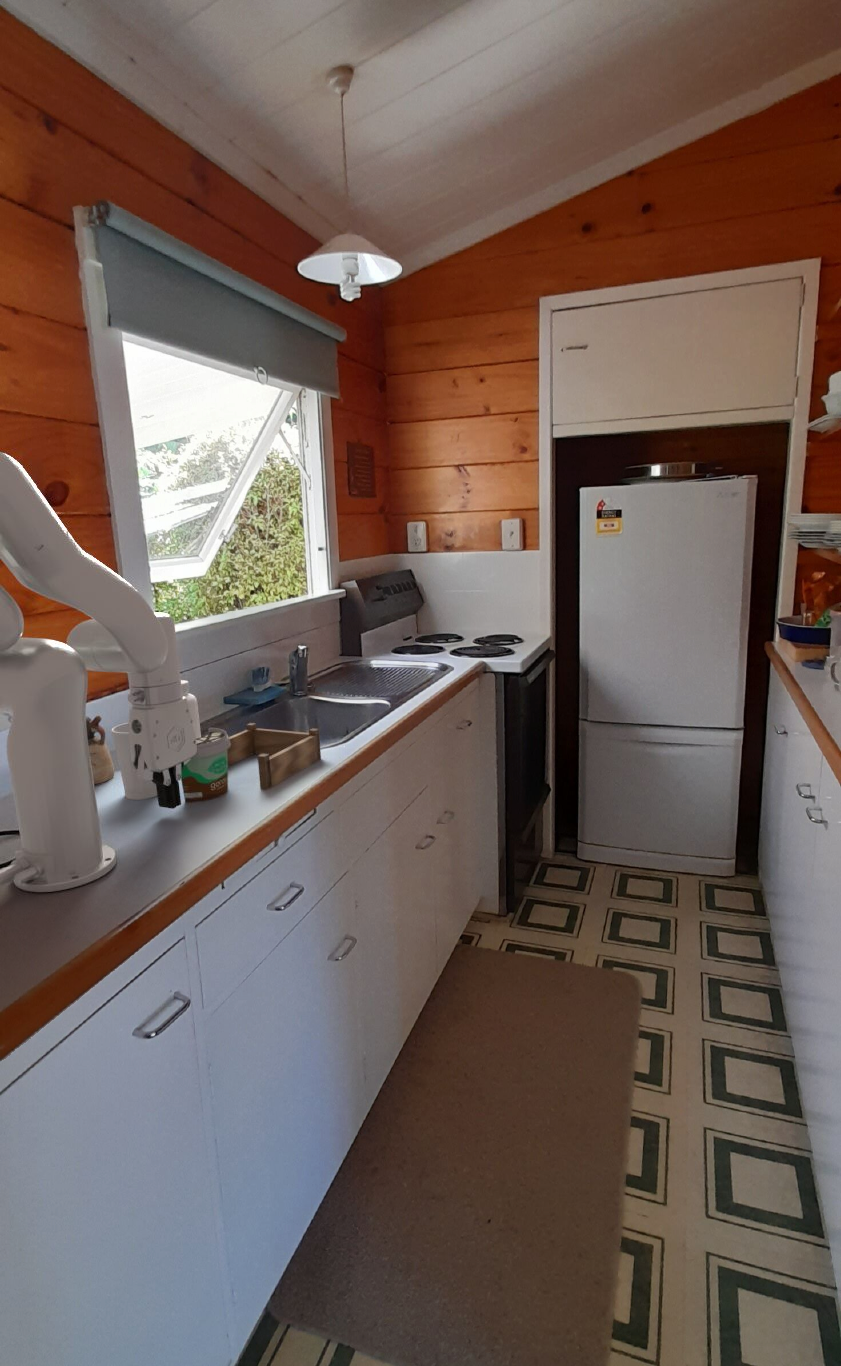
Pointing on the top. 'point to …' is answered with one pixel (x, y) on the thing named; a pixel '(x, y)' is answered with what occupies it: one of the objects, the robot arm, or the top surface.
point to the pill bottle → (192, 707)
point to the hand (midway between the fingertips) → (170, 805)
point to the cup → (130, 767)
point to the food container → (207, 768)
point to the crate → (275, 751)
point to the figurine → (98, 752)
